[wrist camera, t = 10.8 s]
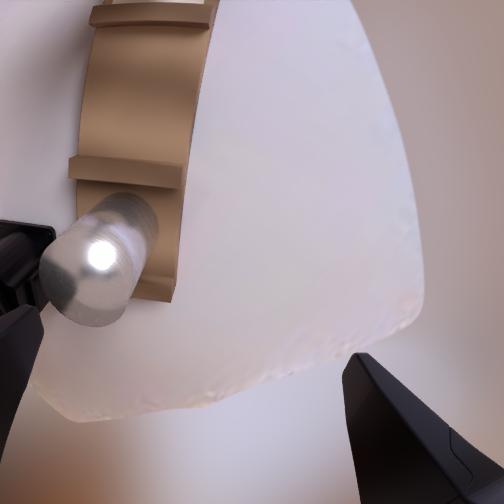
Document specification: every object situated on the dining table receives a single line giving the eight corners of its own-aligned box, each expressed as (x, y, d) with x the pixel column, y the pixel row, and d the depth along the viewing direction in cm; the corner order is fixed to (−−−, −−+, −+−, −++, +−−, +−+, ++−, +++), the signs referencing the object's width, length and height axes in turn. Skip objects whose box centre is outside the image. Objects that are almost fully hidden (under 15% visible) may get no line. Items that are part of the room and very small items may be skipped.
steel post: (94, 254, 19) (48, 316, 12) (92, 188, 17) (32, 232, 10) (157, 263, 19) (130, 334, 13) (161, 196, 17) (126, 245, 11)
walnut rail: (176, 282, 22) (170, 304, 19) (89, 269, 21) (75, 288, 18) (239, -67, 11) (241, -86, 8) (139, -67, 10) (129, -84, 7)
